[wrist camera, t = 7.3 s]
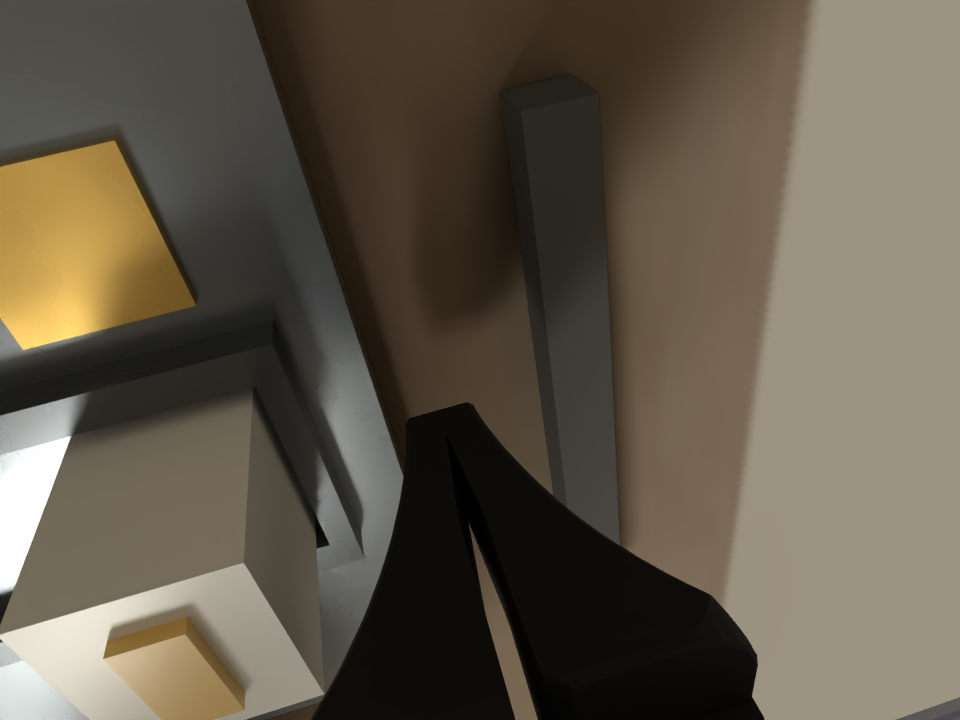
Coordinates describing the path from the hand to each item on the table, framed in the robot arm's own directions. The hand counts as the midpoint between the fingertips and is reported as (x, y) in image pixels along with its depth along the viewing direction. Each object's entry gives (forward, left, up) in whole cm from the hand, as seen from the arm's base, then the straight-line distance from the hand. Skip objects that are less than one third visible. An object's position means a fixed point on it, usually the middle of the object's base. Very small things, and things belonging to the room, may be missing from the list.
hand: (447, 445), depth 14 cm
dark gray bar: (-2, -3, -2) cm, 5 cm away
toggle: (0, +5, -1) cm, 5 cm away
